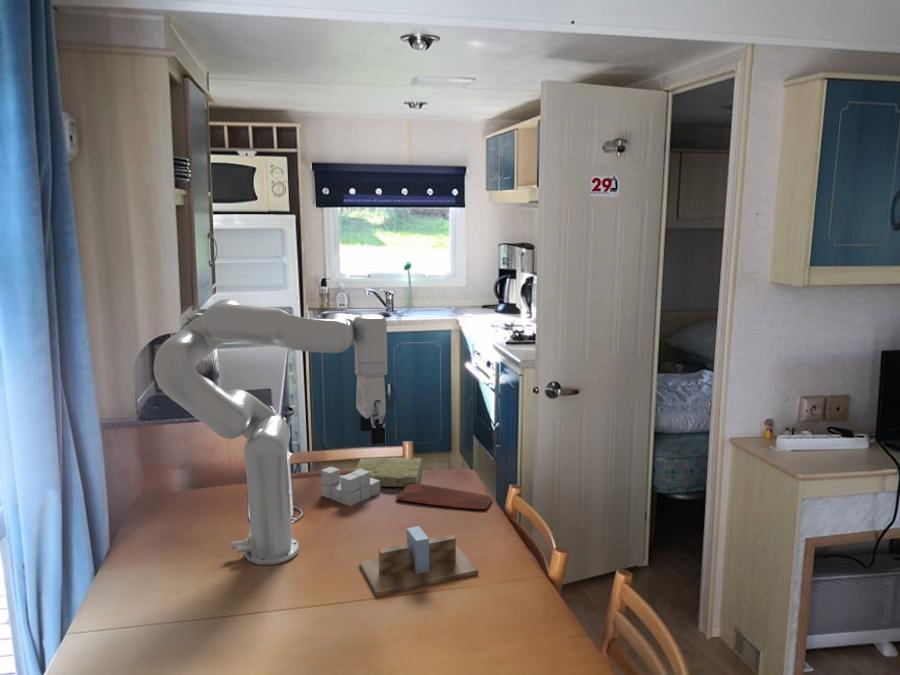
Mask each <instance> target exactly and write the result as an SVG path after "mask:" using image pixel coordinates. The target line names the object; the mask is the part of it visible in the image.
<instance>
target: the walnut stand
mask: <svg viewBox="0 0 900 675" xmlns="http://www.w3.org/2000/svg"><path fill="white" fill-rule="evenodd" d="M359 568H361V571H362V572H363V574H364V576H365V578H366V580H367V582H368V583H369V585H370V587H371V589H372V591H373V593H374V595H375V596H376V597H380V596H385V595H389V594H394V593H398V592H403V591H407V590H411V589H417V588H421V587H426V586H431V585H434V584H435V585H436V584H439V583H444V582H449V581H453V580H457V579H462V578H466V577H471V576H475V575H478V574H479V569H478V568H477V567H476V565H475V564H474V563H473V562H472V561H471V560H470V559H469V557H468V556H467V555H466V554H465V552H463V550H461V548H460V547H459V546H458V545H457V539H456V537H455V536H454V535H453V534H449V535H443V536H439V537H438V536H437V537H433V538H429V571H428V572H423V573H418V574H416V572H415V571H414V557H413V556H412V555H411V553H410V547H409V545H408V544H407V543H402V544H398V545H397V544H396V545H392V546H387V547H383V548H379V549H378V557H375V558H374V557H373V558H369V559H365V560H364V559H363V560H361V561H359Z"/></svg>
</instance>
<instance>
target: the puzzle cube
mask: <svg viewBox="0 0 900 675" xmlns="http://www.w3.org/2000/svg"><path fill="white" fill-rule="evenodd" d="M355 470H356V469H355ZM355 470H353V471H352V472H348V473H347V474H344V475H342V474H341V470H340V468H336V467H333V466H328V467H326V468H324V469H321V471H320V477H321V478H320V479H321V495H322V497H325V498H328V499H330V500H331V501H332V500H333V501H335V502H338V503H340V504H343V505H345V506H347V507H348V506H349V507H352V506H355V505H357V504H359V503H361V502H363V501H365V500H367V499H370V498H372V497H374V496H376V495H378V494H381V486H380V481H379V480H376V479H373V478H370V472H369V471H366V470H363V469H359V470H356V471H355Z"/></svg>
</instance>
